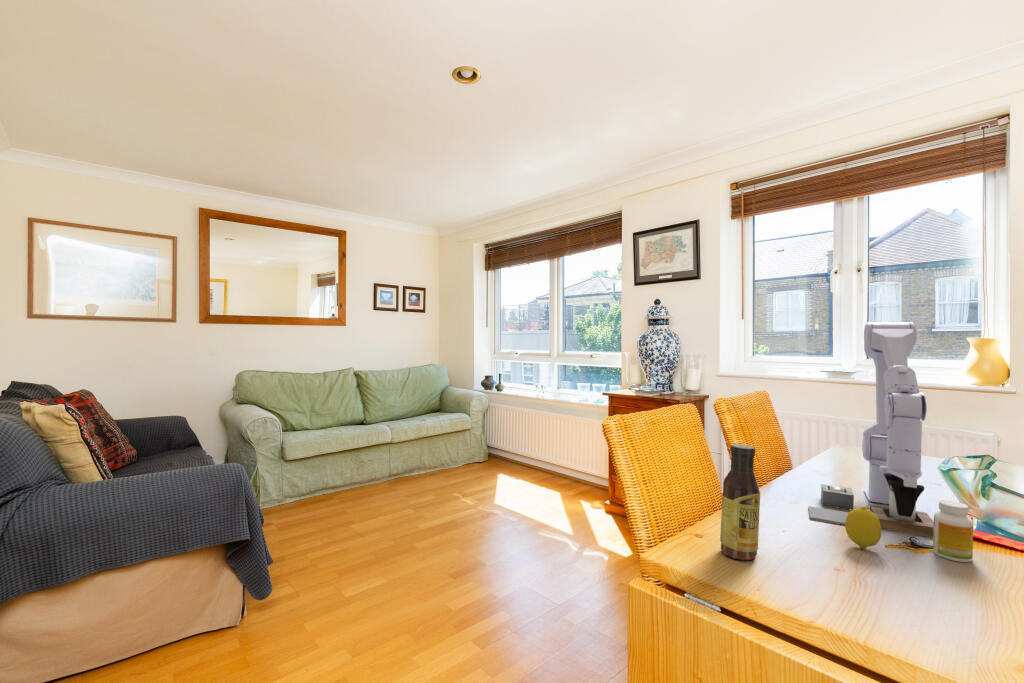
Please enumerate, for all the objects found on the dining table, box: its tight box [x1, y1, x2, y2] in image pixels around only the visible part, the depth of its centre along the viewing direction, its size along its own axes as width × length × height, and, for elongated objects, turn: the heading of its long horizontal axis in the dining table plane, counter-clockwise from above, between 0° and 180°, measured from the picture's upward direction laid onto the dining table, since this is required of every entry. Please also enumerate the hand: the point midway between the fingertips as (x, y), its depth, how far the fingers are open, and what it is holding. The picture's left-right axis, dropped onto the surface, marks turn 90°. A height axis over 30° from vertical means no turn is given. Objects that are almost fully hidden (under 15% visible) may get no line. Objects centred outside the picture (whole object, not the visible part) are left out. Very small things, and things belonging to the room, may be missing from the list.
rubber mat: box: [808, 505, 849, 526], centre depth 107 cm, size 8×8×1 cm
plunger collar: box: [820, 484, 855, 511], centre depth 115 cm, size 6×6×4 cm
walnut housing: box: [869, 503, 934, 538], centre depth 103 cm, size 10×10×2 cm
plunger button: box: [830, 485, 845, 493], centre depth 115 cm, size 3×3×3 cm
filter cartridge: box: [888, 485, 917, 522], centre depth 103 cm, size 4×4×8 cm
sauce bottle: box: [719, 443, 761, 561], centre depth 88 cm, size 7×6×20 cm
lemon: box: [844, 505, 882, 550], centre depth 91 cm, size 6×6×8 cm
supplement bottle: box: [932, 500, 974, 563], centre depth 88 cm, size 5×5×10 cm
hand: (902, 511), depth 103 cm, fingers closed on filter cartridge, 4 cm apart
